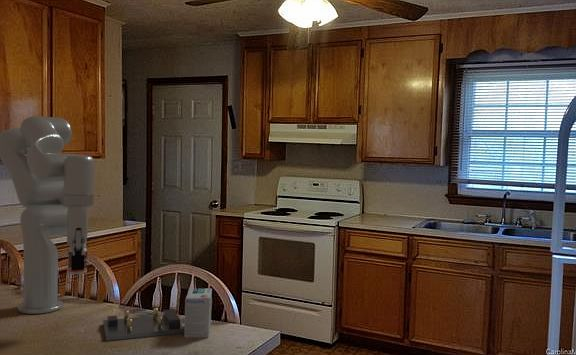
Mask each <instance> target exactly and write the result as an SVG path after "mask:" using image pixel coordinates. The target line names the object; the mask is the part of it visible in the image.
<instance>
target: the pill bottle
mask: <svg viewBox="0 0 576 355" xmlns="http://www.w3.org/2000/svg"><path fill="white" fill-rule="evenodd" d="M81 243H82V241H81ZM74 244H76V242H75V241H74ZM75 247H76V246H75ZM81 253H82V252H81ZM72 255H73V242H72V243H70V244H69V249H68V256H67V257H68V262H67V265H68V268H67V273H68V274H71V275H80V274H85V273H87V272H88V249H87V242H86V243H85V244H84V255H85V256H84V270H74V271H72V270H71V260H72ZM81 255H82V254H81Z"/></svg>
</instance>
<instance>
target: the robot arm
mask: <svg viewBox="0 0 576 355" xmlns="http://www.w3.org/2000/svg"><path fill="white" fill-rule="evenodd" d="M72 134H73V131H72V127H71V124H70V123H69V121H67V119H64V118H63V117H55V116H54V117H52V116H41V115H40V116H39V115H37V116H36V115H35V116H34V115H33V116H28V117H26V118H25V119H23V121H21V123H20V126H19V127H17V128H9V129H4V130H2V132H0V160H1V162H2V163H3V165H4V167H5V169H6V170H7V171H8V173H9V175H10V177H11V179H12V183H13V186H14V189H15V193H16V195H17V198H18V201H19V203H20V205H21V206H22V207H23V208H26V209H24V210H23V211H22V213H21V214H20V220H19V221H20V222H19V223H20V228H21V233H22V234H21V235H22V242H23V281H22V282H23V291H22V292H23V295H22V300H23V302H21V303H19V304H18V305H17V311H18V312H19V313H22V314H27V315H28V314H29V315H30V314H32V315H34V314H37V315H38V314H46V313H51V312H55V311H58V310H61V309H62V308H63V307H64V306H63V305H64V302H63V301H62V300H59V299H58V294H59V293H58V290H59V289H58V285H59V284H58V283H59V280H58V278H59V277H58V276H59V273H58V272H59V260H58V259H59V251H58V247H57V245H55V243H54V242H53V241H52V240H51V239H50V238H51V237H54V236H64V235H66V244H67V245H68V246H70V243H72V242H73V255H72V260H71V270H72V271H74V270H84V256H85V255H84V244H85V243H86V244H87V240H88V234H89V233H88V232H89V212H90V209H89V208H93V207H94V200H95V199H94V193H95V191H94V190H95V189H94V187H95V160H94V157H92V156H91V155H83V154H80V153H62V151H63V149H64V147H65V146H66V145H68V143H69V142H70V140H71V139H72ZM74 241H75V242H76V244H74ZM81 241H82V243H81ZM75 246H76V247H75ZM81 252H82V253H81ZM81 254H82V255H81Z"/></svg>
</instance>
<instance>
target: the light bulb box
mask: <svg viewBox="0 0 576 355" xmlns="http://www.w3.org/2000/svg"><path fill="white" fill-rule="evenodd" d="M212 291H213V289H212V288H201V287H200V288H194V287H193V288H188V290H187V294H186V297H184V298H185V299H184V333H183V335H184V336H183V337H184V338H186V339H187V338H191V339H192V338H204V339H205V338H209V336H210V330H211V325H212V323H211V322H212V295H213V294H212V293H213V292H212Z"/></svg>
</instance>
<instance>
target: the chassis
mask: <svg viewBox="0 0 576 355" xmlns="http://www.w3.org/2000/svg"><path fill="white" fill-rule="evenodd" d="M158 311H159V308H157V307H154V308H153V314H152V315H150V316H149V315H148V316H136V317H130V314H129V313H130V312H129V310H128V309H126V310H124V312H123V313H124V315H123V317H124V318H118V316H117V315H108V316H107V319H104V320H103V321H102V324H103V331H104V336H105V340H106V342H109V341H121V340H128V339H139V338H149V337H161V336H169V335H180V334H184V329H185V327H184V326H183V325H182V323H181V319H180V317H179V316H178V314H177V312H176V311H175V309H164V310H163V311H162V314H161V315H159V312H158Z"/></svg>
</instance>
